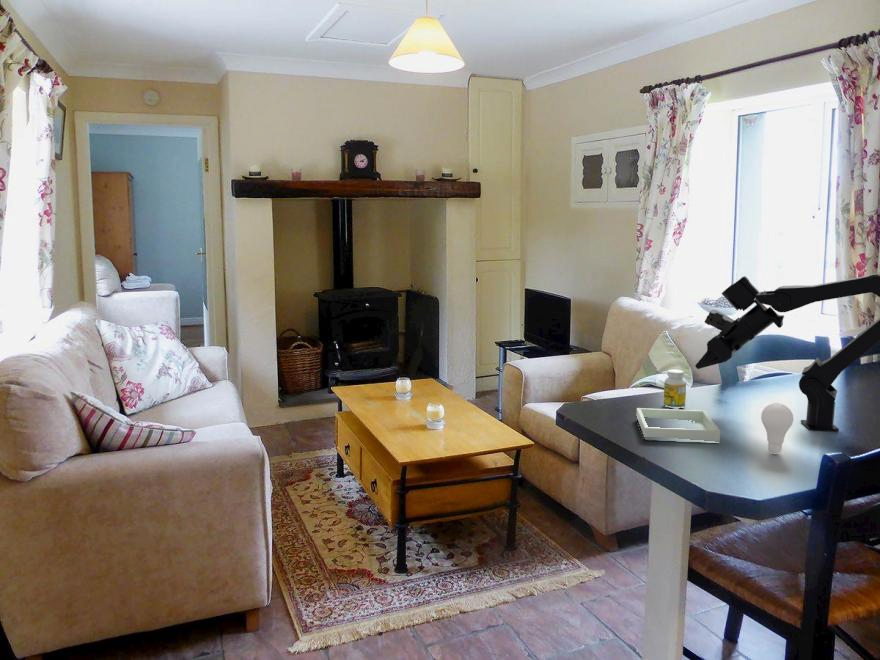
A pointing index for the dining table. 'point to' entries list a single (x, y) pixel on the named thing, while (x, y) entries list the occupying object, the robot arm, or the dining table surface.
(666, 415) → the bin
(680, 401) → the supplement bottle
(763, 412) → the lightbulb
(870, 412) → the dining table surface
